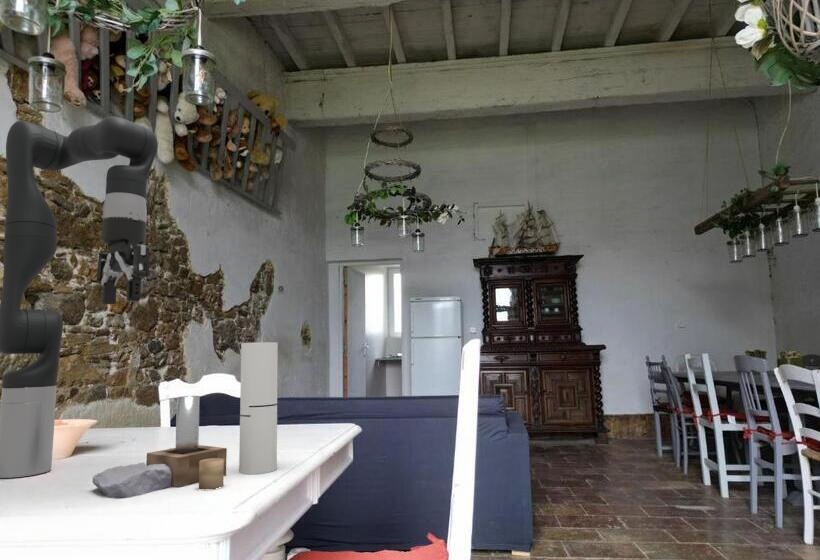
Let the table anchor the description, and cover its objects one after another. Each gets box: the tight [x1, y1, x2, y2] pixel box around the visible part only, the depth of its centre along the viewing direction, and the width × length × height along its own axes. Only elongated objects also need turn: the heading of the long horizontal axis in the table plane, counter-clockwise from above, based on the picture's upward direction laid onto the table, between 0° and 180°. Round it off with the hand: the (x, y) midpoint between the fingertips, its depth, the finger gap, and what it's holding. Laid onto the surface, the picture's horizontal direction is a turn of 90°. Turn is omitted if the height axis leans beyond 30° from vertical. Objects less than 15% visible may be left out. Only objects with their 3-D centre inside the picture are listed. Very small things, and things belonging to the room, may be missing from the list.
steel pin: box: [175, 395, 201, 455], centre depth 100 cm, size 4×4×15 cm
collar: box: [145, 444, 228, 488], centre depth 99 cm, size 10×10×5 cm
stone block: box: [92, 462, 172, 499], centre depth 92 cm, size 12×5×10 cm
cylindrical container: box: [238, 341, 279, 475], centre depth 106 cm, size 7×7×25 cm
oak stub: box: [198, 458, 225, 490], centre depth 92 cm, size 4×4×4 cm
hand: (120, 302), depth 101 cm, fingers open, 8 cm apart
